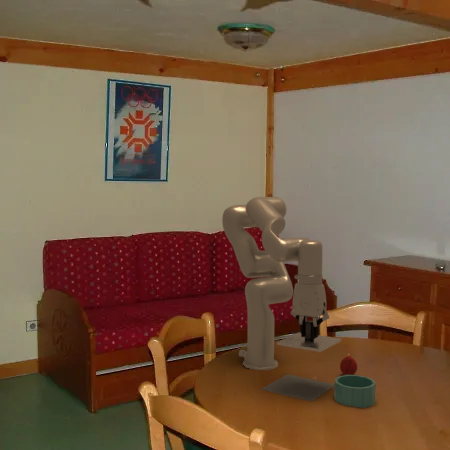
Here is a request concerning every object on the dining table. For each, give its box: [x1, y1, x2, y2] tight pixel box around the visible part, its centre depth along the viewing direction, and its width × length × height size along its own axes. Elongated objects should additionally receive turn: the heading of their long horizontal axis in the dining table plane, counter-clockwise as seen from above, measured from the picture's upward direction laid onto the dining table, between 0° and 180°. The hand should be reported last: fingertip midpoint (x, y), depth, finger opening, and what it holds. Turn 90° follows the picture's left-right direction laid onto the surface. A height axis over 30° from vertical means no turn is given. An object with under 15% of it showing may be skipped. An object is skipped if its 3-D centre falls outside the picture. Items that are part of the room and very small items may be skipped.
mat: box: [260, 373, 335, 402], centre depth 210 cm, size 18×18×1 cm
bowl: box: [333, 374, 377, 409], centre depth 199 cm, size 12×12×6 cm
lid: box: [276, 320, 342, 353], centre depth 206 cm, size 15×15×7 cm
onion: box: [339, 353, 358, 376], centre depth 221 cm, size 6×6×8 cm
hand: (309, 336), depth 206 cm, fingers closed on lid, 3 cm apart
